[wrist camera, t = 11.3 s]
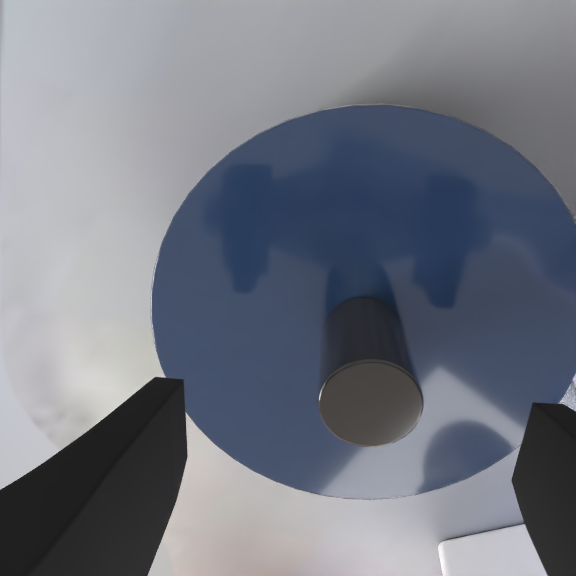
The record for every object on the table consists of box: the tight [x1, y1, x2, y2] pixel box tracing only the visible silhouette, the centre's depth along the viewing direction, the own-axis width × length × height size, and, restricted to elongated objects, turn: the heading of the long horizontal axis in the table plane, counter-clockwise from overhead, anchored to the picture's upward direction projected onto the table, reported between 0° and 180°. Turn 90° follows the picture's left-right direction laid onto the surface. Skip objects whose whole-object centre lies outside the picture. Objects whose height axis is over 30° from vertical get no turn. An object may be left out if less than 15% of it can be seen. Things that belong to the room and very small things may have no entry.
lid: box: [151, 104, 576, 500], centre depth 14 cm, size 13×13×5 cm
